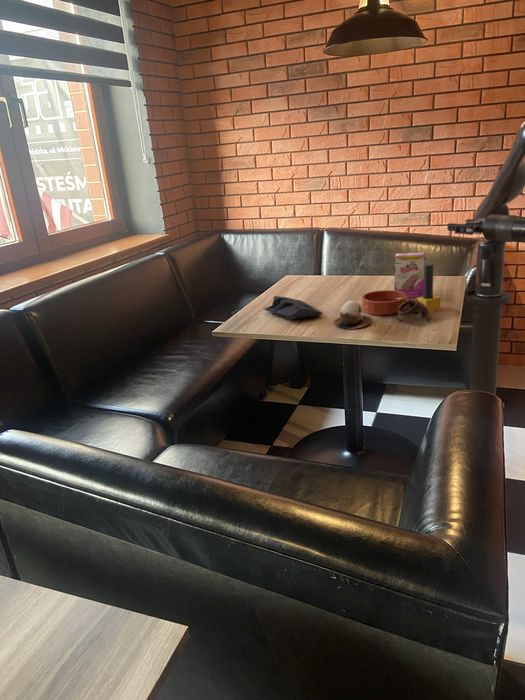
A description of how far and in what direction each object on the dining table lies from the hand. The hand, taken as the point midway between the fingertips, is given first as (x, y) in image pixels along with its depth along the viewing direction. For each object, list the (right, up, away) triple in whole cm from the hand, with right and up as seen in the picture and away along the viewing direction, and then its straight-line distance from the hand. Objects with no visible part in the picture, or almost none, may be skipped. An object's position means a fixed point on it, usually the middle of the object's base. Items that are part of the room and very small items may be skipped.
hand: (457, 224), depth 167 cm
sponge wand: (-3, -25, +19) cm, 32 cm away
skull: (-30, -30, +13) cm, 45 cm away
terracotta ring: (-17, -25, +24) cm, 39 cm away
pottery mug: (-10, -29, +11) cm, 33 cm away
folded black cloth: (-50, -26, +30) cm, 63 cm away
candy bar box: (-5, -19, +36) cm, 41 cm away
